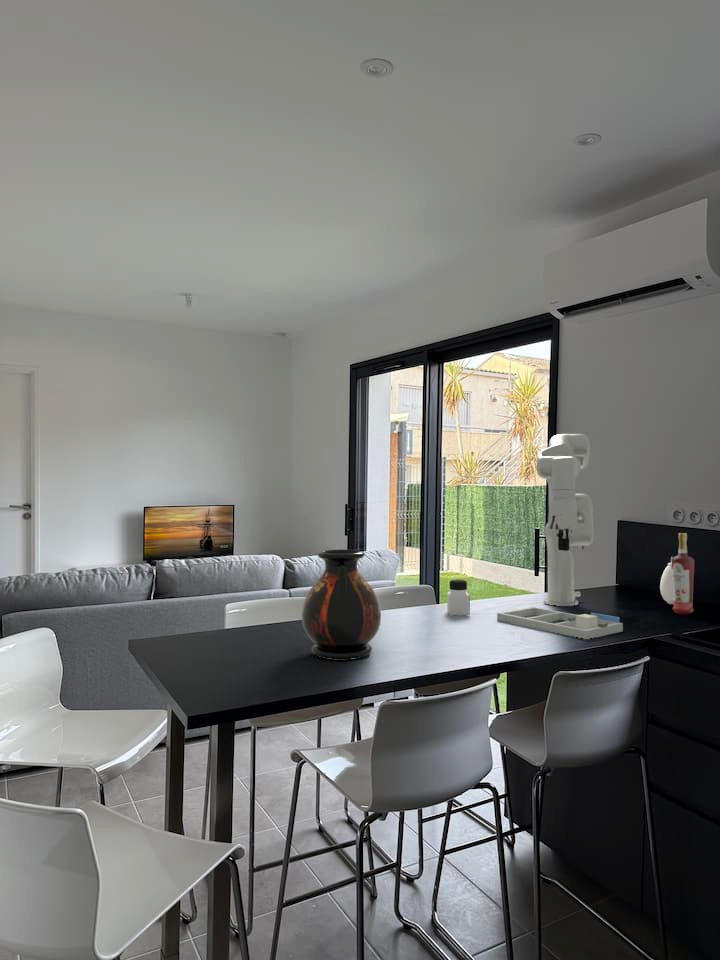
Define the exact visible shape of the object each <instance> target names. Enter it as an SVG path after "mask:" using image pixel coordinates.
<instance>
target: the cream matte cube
mask: <svg viewBox="0 0 720 960" xmlns="http://www.w3.org/2000/svg"><path fill="white" fill-rule="evenodd" d="M576 615H577V616H576V628H578V629H583V630H586V629H591V628H595V627H597V616H594V615H591V614H587V613H583V614H576Z"/></svg>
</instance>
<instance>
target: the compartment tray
mask: <svg viewBox="0 0 720 960" xmlns="http://www.w3.org/2000/svg"><path fill="white" fill-rule="evenodd" d="M531 615H532V616H531ZM537 615H538V616H537ZM577 615H578V614H576V613H575V614H574V613H570V612H569V613H568V612H562V611H558V610H553V609H548V608H547V609H546V608H541V607H536V606H530V607H525V608H520V609H519V608H518V609H513V610H508V611H501V612H497V614H496V616H497V617H496V621H498V622H501V621H502V623H506V622H507V624H512V625H516V626H521V627H527V628H529V629H534V628H535V629H534V630H540V631H543V632H548V631H549V633H553V632H554V634H558V633H559V634H558V635H562V634H563V635H564V636H567V637H572V636H573V637H572V638H576V637H578V638H577V639H581V638H583V639H582V640H586V639H587V640H590V638H592V639H594V638H595V637H596V638H599V637H604V636H608V635H611V634H612V635H614V634H617V633H621V632H624V631H623V629H624V626H623V625H624V623H623V622H620V617H619V616H614V615H608V614H603V613H602V614H601V613H596V612H590V615H594V616H597V627H595V628H591V629H586V630H583V629H578V628H576V616H577ZM525 616H527V617H525ZM558 620H559V621H562V620H564V621H562V622H558ZM552 621H554V622H557V623H553V622H552ZM548 622H549V623H548Z"/></svg>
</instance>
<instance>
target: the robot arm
mask: <svg viewBox="0 0 720 960" xmlns="http://www.w3.org/2000/svg"><path fill="white" fill-rule="evenodd" d="M590 453H591V443H590V440H589V438H588V436H587V435H586V434H583V433H559V434H556V435H553V436H552V437H551V438H550V440H549V443H548V447H547V448H544V449H542V450H540V451H539V453H538V455H537V457H536V467H535V468H536V472H537V475H538V476H539V478H541V479H546V481H547V484H548V485H547V486H548V487H547V488H548V515H547V517H548V519H547V521H548V522H547V523H546V525H545V528H544V535H545V539H546V540H545V542H546V547H547V548H546V551H547V553H546V554H547V598H544V599H543V604H545V605H548V604H549V605H548V606H553V605H556V606H555V607H574V605H575V606H578V605H579V600H577V599H576V598H577V597H581V595H582V593H581V592H580V591H575V576H574V575H575V569H574V568H575V565H574V564H575V559H574V556H573V553H572V552H571V551H570V546H578V547H579V546H581V547H583V546H586V547H587V546H590V545H592V544H593V542H594V536H595V533H594V532H595V531H594V529H595V528H594V512H593V511H594V508H593V502H592V499H591V497H590V495H589V494H586V493H576V478H577V477H578V476H579V473H581V470H583V469H586V468H587V467H588V465H589V461H590V460H589V459H590Z"/></svg>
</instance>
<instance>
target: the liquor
mask: <svg viewBox="0 0 720 960" xmlns="http://www.w3.org/2000/svg"><path fill="white" fill-rule="evenodd" d="M687 540H688V534H687V533H686V532H678V541H679V542H678V543H679V544H678V553H677V555H676V556H672V559H671V558H670V562H671V561H672V579H673V599H674V604H673V607H672V610H673V611H674V613H675V614H677V615H685V616H686V615H690V614H692V613H693V612H694V611H695V609H694V608H693V599H694V597H693V596H694V595H693V593H694V575H695V559H694V558H693V557H692V556H689V555H688V546H687Z"/></svg>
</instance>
